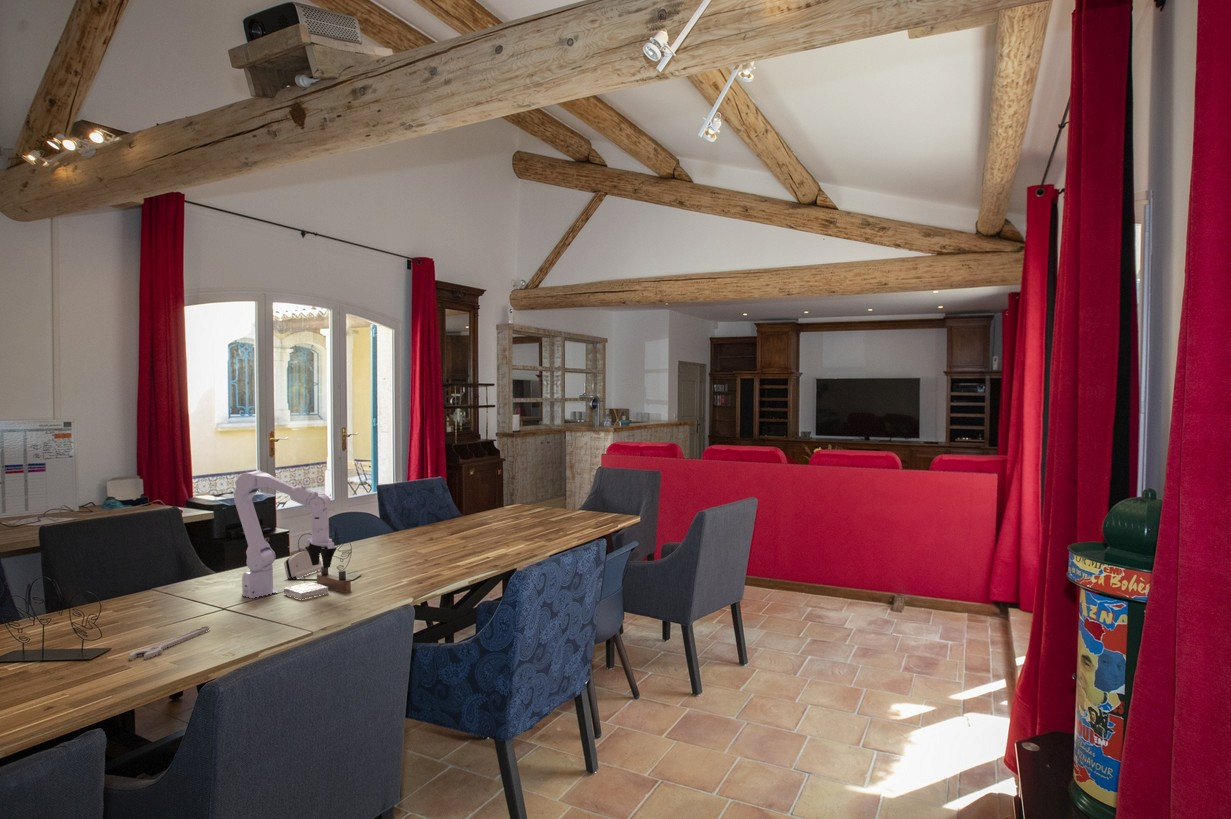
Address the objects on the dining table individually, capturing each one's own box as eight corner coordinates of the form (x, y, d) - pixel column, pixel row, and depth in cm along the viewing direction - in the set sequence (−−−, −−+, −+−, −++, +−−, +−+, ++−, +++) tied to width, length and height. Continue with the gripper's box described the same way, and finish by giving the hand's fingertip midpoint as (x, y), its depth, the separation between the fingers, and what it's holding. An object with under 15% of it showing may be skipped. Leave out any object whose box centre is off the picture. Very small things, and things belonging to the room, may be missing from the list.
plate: (301, 602, 243) (300, 593, 243) (284, 596, 251) (283, 588, 251) (328, 595, 251) (328, 587, 251) (311, 590, 259) (310, 581, 259)
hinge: (297, 579, 272) (289, 554, 273) (287, 583, 274) (280, 558, 274) (326, 569, 288) (318, 546, 289) (317, 572, 290) (309, 549, 290)
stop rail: (343, 592, 252) (342, 573, 252) (317, 585, 264) (316, 566, 263) (350, 590, 255) (350, 571, 255) (324, 583, 266) (324, 564, 266)
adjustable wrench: (204, 631, 214) (204, 625, 214) (221, 632, 212) (221, 626, 212) (125, 660, 190) (125, 653, 190) (143, 662, 188) (143, 655, 188)
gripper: (341, 528, 251) (342, 566, 252) (319, 524, 260) (320, 561, 261) (323, 532, 246) (324, 570, 246) (301, 527, 255) (302, 565, 255)
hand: (321, 566), depth 253 cm, fingers open, 7 cm apart
